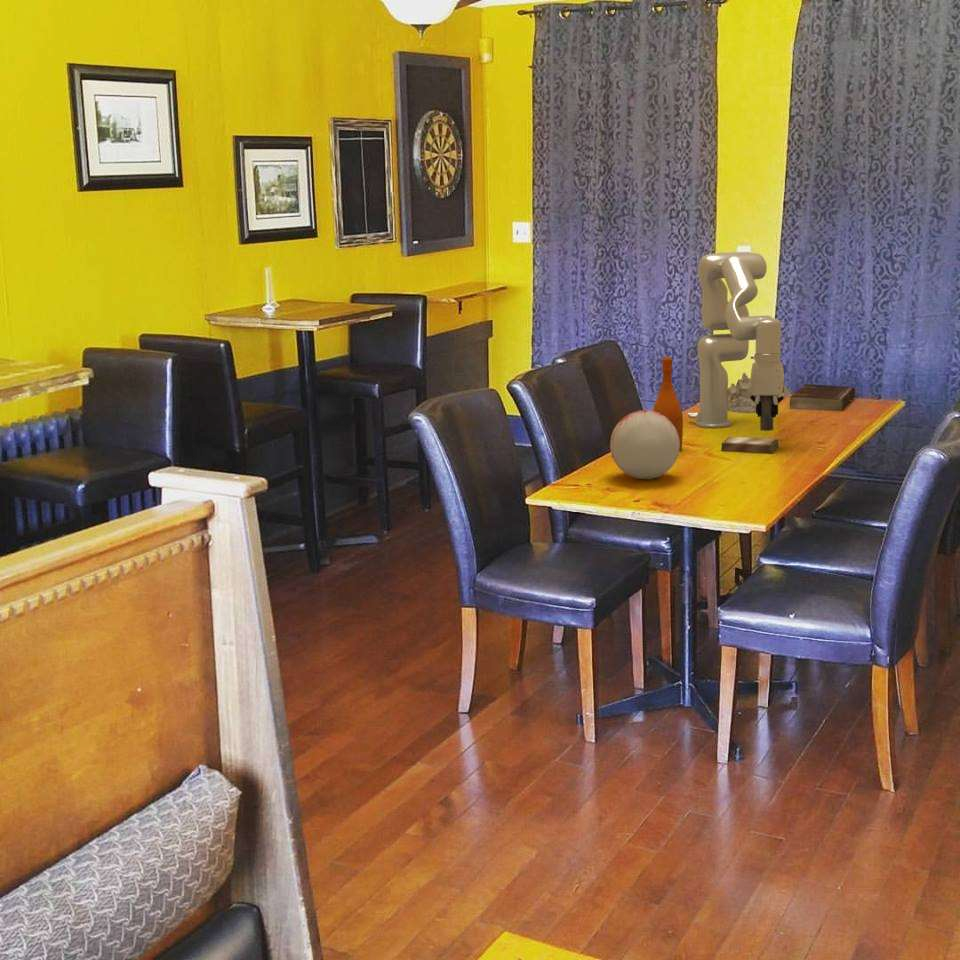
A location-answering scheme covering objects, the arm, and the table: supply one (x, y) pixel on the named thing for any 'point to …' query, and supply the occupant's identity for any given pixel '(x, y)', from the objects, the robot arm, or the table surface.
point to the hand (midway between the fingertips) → (766, 415)
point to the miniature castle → (740, 397)
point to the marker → (766, 413)
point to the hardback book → (822, 397)
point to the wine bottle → (669, 399)
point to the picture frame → (750, 445)
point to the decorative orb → (644, 444)
